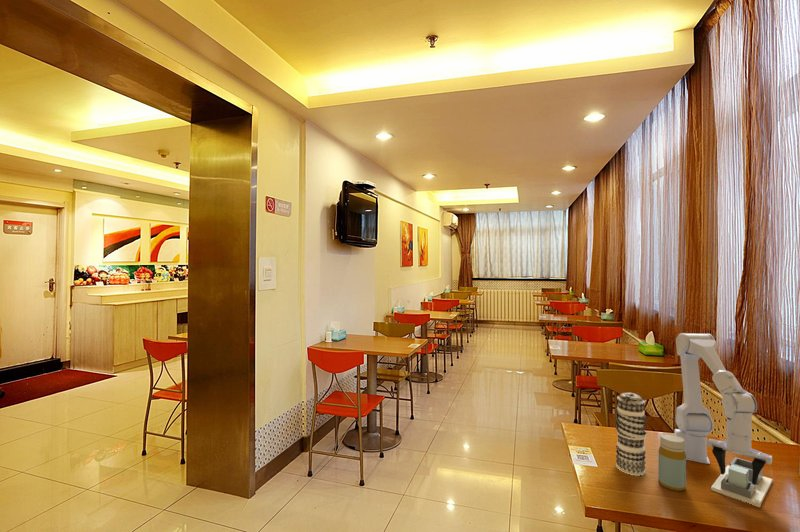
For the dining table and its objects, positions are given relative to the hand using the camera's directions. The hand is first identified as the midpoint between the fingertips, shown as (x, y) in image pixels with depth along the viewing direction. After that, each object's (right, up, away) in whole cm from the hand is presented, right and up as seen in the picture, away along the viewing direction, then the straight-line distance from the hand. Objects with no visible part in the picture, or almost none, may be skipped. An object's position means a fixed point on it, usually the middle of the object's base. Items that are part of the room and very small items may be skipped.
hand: (738, 478), depth 118 cm
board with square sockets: (+4, -4, +3) cm, 7 cm away
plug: (0, -3, 0) cm, 3 cm away
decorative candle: (-25, -5, +14) cm, 28 cm away
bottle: (-17, -5, +4) cm, 18 cm away
